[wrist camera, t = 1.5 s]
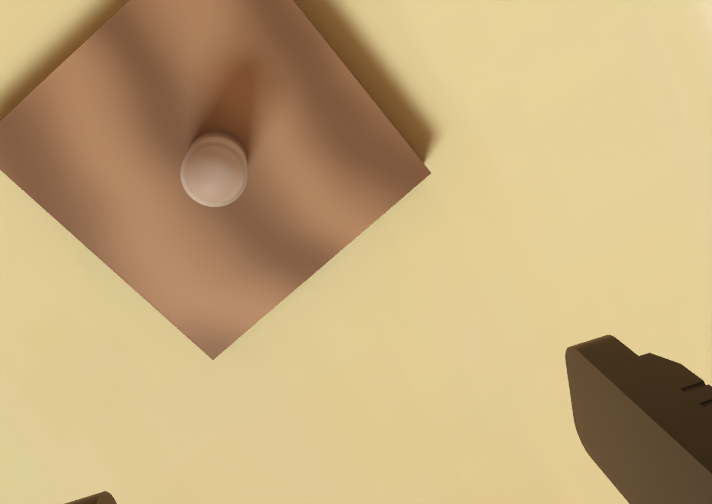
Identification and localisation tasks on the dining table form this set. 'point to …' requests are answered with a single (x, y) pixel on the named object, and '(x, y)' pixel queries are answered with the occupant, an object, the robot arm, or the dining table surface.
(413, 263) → the dining table surface
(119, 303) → the dining table surface
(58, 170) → the shaft stand
